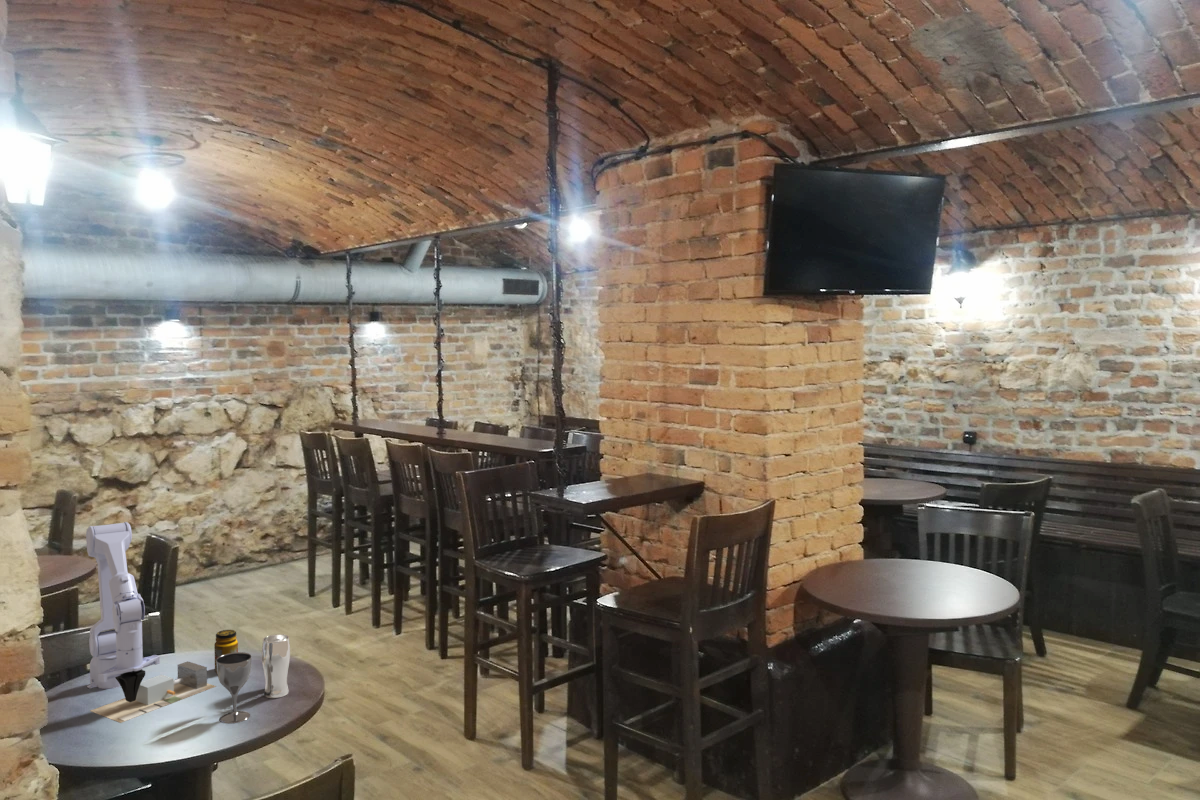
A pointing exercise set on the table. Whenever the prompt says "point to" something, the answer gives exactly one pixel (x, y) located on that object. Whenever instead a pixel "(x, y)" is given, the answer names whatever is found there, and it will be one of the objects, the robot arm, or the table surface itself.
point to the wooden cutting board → (133, 709)
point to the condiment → (225, 644)
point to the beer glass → (276, 664)
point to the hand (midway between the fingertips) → (130, 700)
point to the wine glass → (234, 681)
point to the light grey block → (156, 689)
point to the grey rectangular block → (192, 675)
